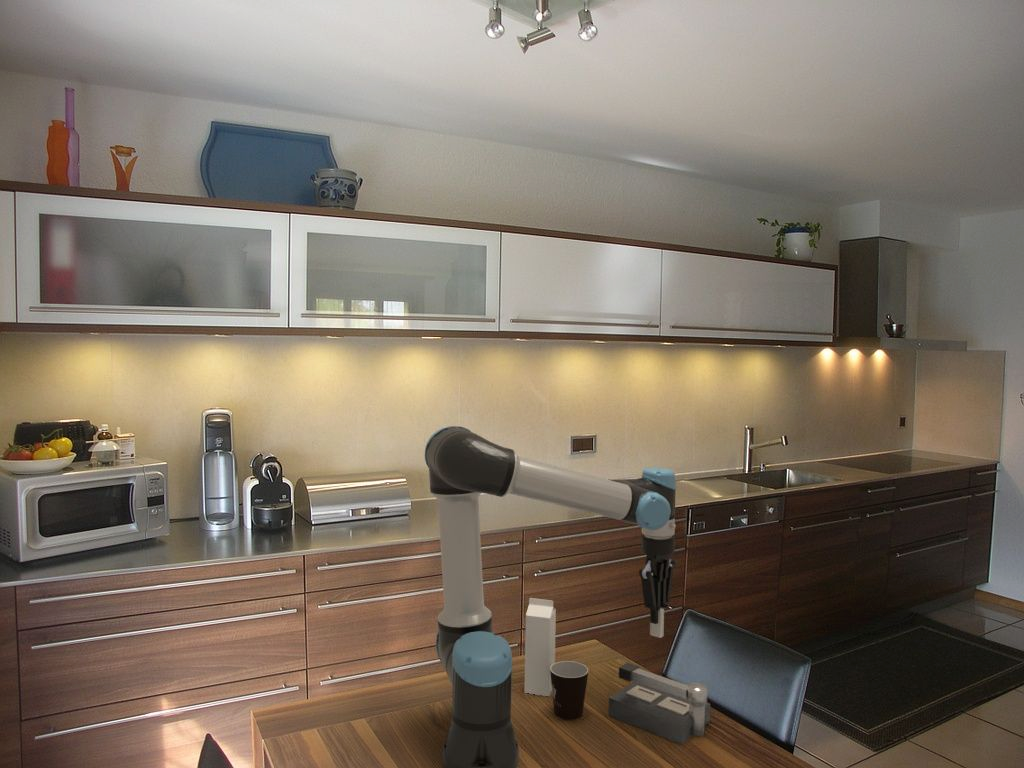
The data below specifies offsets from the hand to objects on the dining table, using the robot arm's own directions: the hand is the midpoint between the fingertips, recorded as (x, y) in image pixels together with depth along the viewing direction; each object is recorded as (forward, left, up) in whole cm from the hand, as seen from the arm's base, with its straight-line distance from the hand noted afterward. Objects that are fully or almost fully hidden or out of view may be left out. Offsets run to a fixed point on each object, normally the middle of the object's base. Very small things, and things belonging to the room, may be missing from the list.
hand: (656, 635), depth 167 cm
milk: (-23, -14, -16) cm, 31 cm away
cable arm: (+6, -7, -9) cm, 12 cm away
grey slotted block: (+5, -7, -15) cm, 18 cm away
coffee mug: (-12, -17, -16) cm, 26 cm away
